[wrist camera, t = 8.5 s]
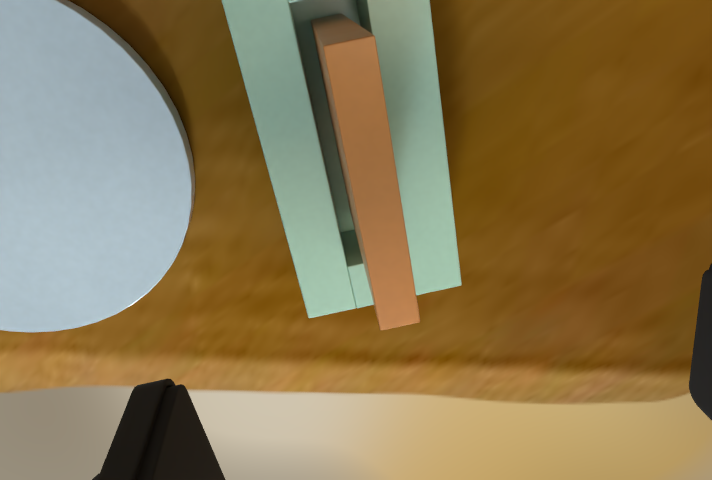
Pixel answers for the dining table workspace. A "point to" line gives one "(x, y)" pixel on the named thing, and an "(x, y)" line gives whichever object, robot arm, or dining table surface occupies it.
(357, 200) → the copper rectangular plank
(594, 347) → the dining table surface
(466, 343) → the dining table surface
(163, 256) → the plate
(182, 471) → the robot arm
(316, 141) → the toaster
